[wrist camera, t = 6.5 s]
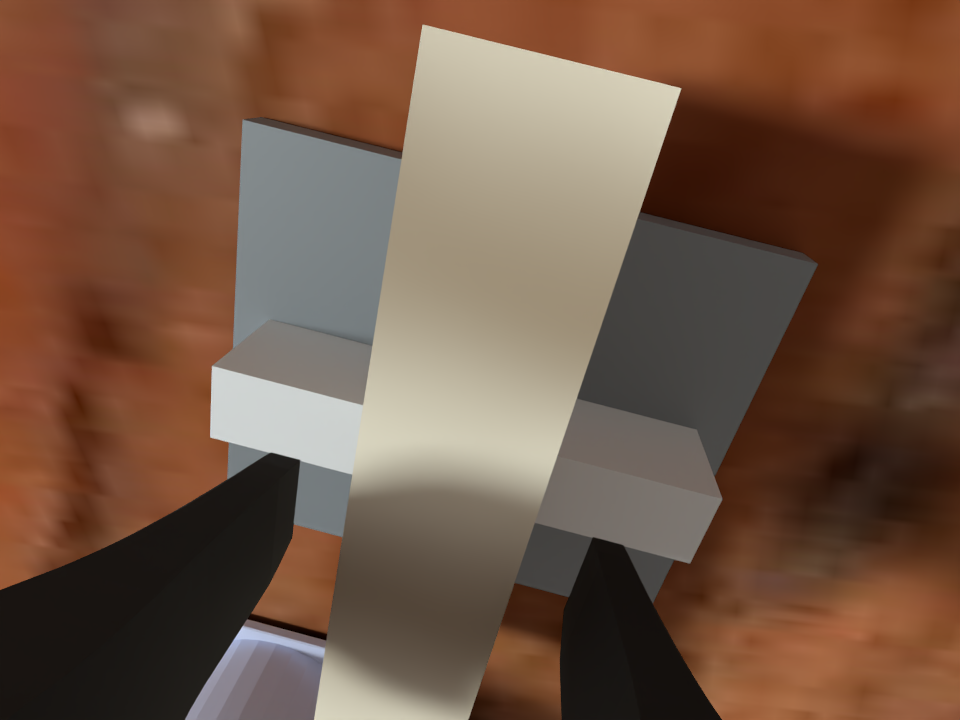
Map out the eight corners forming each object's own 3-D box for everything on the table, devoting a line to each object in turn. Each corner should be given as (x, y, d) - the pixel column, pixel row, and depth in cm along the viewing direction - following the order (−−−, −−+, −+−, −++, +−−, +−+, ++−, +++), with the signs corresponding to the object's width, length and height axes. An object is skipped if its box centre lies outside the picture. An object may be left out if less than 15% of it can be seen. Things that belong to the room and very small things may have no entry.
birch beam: (442, 725, 18) (412, 884, 15) (347, 699, 18) (293, 851, 15) (640, 85, 10) (681, 88, 7) (471, 43, 10) (422, 24, 7)
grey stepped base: (642, 593, 20) (658, 704, 17) (241, 487, 21) (172, 574, 17) (802, 253, 15) (877, 307, 11) (261, 117, 15) (168, 128, 12)
